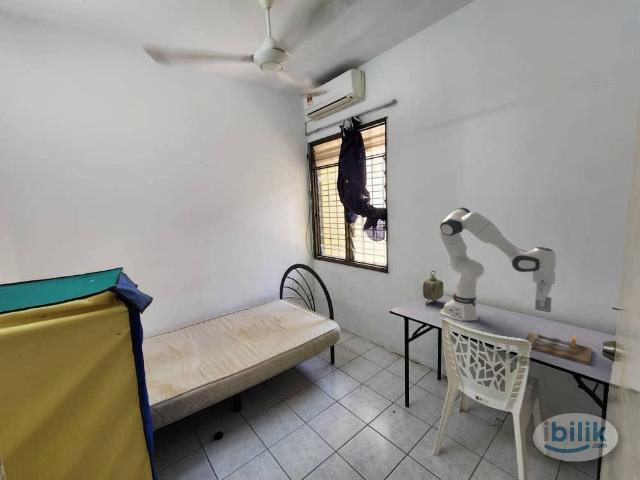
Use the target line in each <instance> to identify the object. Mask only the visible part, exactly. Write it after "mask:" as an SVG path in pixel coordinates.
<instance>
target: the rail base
mask: <svg viewBox="0 0 640 480" xmlns="http://www.w3.org/2000/svg"><path fill="white" fill-rule="evenodd" d="M525 339H526V340H528V341H529V342H530V343H531V346H532V349H531V350H533V349H534V351H537V350H538V351H537V352H541V351H542V353H544V352H545V354H548V353H549V354H548V355H551V354H552V356H555V357H558V358H559V357H560V358H562V359H567V360H571V361H575V362H577V363H580V364H585V365H588V366H591V361H592V360H591V359H592V350H593V349H592V347H591V346H590V347H589V346H586V345H581V344H578V343H576V345H575V347H572V341H570V340H566V339H561V338H559V337H558V338H557V337H553V336H549V335H545V334H541V333H536V334H535V333H532V332H529V333H528V334H527V336H526V338H525Z"/></svg>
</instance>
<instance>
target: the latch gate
mask: <svg viewBox="0 0 640 480" xmlns="http://www.w3.org/2000/svg"><path fill="white" fill-rule="evenodd" d="M571 343H572V347H575V345H576V344H577V335H574V334H573V335H572V337H571Z"/></svg>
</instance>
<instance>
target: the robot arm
mask: <svg viewBox="0 0 640 480" xmlns="http://www.w3.org/2000/svg"><path fill="white" fill-rule="evenodd" d="M439 229H440V230H439V234H440V238H441V241H442V243H443V246H444V247H445V249H446V251H447V253H448V255H449V258H450V262H449V265H450V267H451V269H452V270H453V271H455V272H456V273H458V274H460V277H459V280H458V281H457V282H456V286H455V287H456V289H455V293H454V294H453V295H452V299H450V300H449V301H447V302H445V304H444V306H443V308H441V309H440V311H439V314H440V315H442V316H444V317H447V318H451V319H454V320H456V321H461V322H464V321H468V322H469V321H477V320H478V319H479V316H478V313H477V295H476V291H477V290H476V289H477V283H478V280H479V279H480V277H482V275H483V274H484V272H485V267H484V266H483V264H482V263H480V262H479V261H477V260H475V259H472V258H469V256H468V255H467V250H468V247H467V245H466V243H465V241H464V238H463V237H462V235H461V233H462V232H463V230H466V231H468V232H470V233H471V234H472V235H474V237H475V238H476V239H478V240H480V241H481V242H483V243H484V244H490V245H493V246H495V247H497V249H499V250H500V251H501V252H503V253H504V254H505V255H506V256H507V257H508V259H509V261H510V262H511V265H512V268H513V269H514V270H516V271H518V272H521V273H528V272H529V273H530V272H531V273H532V281H533V283H535V285H536V288H535V300H539V301H540V306H545V300H546V298H547V297H549V294H550V293H551V290H552V287H553V286H552V285H554V284H555V283H556V271H555V268H556V263H557V262H556V261H557V260H556V259H557V258H556V253H555V251H554V250H553V249H551V248H547V247H543V246H536V247H535V248H532V249H531V250H529V251H526V250H525V249H521V248H518V247H517V246H515V245H514V244H513V243H512V242H510V240H508V239H507V238H506V237H505V236H504V235H503V234H502V232H501V230H500V228H498V227H497V225H495V223H493V222H492V221H491V220H490V219H488V218H487V217H485V216H484V215H483V214H481V213H479V212H477V211H471V210H469V209H468V208H466V207H459V208H458V207H457V208H456V209H455V210H454V211H452V212H451V213H449V214H448V215H447V216H446V217H445V219H443V220H442V222H441V223H440V226H439Z"/></svg>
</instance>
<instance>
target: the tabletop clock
mask: <svg viewBox="0 0 640 480" xmlns="http://www.w3.org/2000/svg"><path fill="white" fill-rule="evenodd" d="M432 273H433V274H432ZM435 275H436V270H431V272H430V277H429V278H428V279H425V280H424V281H423V283H422V295H423V296H422V297H423V299H425V300H427V301H425V305H427V304H428V302H429V301H435V302H434V303H435V305H437V304H438V301H437V300H440V299H441V298H443V297H444V281H442V280H440V279H437V277H436V276H435Z"/></svg>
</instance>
